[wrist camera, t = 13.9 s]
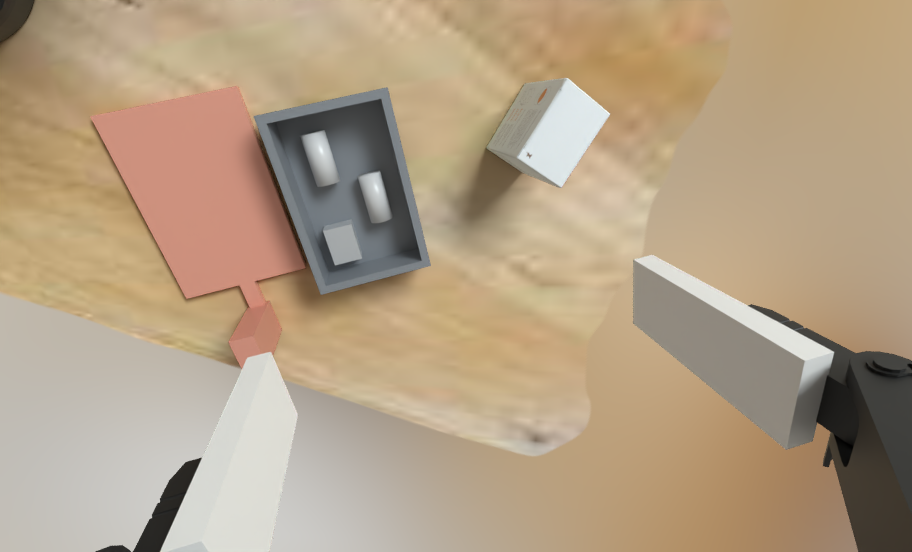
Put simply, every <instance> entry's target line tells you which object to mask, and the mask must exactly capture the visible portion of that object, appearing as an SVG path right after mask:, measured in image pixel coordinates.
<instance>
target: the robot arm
mask: <svg viewBox="0 0 912 552" xmlns="http://www.w3.org/2000/svg"><path fill="white" fill-rule="evenodd" d="M33 2H34V0H0V42H1V41H3V40H4V39H6V38H8V37H9V36H11V35H12V34H13V33H14V32H16V31H17V30H18V29H19V28H20V26H21V25H22V24H23V23H24V21H25V20H26V18H27V17H28V15H29V13H30V10H31V8H32V5H33ZM633 324H635V325H636V326H637V327H638V328H640V329H641V330H642V331H643V332H644V333H645V334H647V335H648V336H649V337H650V338H652V339H653V340H654V341H655V342H656V343H658V344H659V345H660V346H661V347H662V348H664V349H665V350H666V351H667V352H669V353H670V354H671V355H672V356H673V357H675V358H676V359H677V360H678V361H679V362H681V363H682V364H683V365H684V366H685V367H687V368H688V369H689V370H690V371H692V372H693V373H694V374H695V375H696V376H698V377H699V378H700V379H701V380H702V381H704V382H705V383H706V384H707V385H708V386H710V387H711V388H712V389H713V390H714V391H716V392H717V393H718V394H719V395H721V396H722V397H723V398H724V399H725V400H727V401H728V402H729V403H730V404H732V405H733V406H734V407H735V408H736V409H738V410H739V411H740V412H741V413H742V414H744V415H745V416H746V417H747V418H748V419H750V420H751V421H752V422H753V423H754V424H756V425H757V426H758V427H759V428H761V429H762V430H763V431H764V432H765V433H767V434H768V435H769V436H770V437H772V438H773V439H774V440H775V441H776V442H777V443H779V444H780V445H781V446H782V447H784V448H785V449H786V450H787V449H790V448H793V447H796V446H799V445H802V444H805V443H808V442H812V441H813V438H814V433H815V429H816V425H817V422H818V423H819V424H821V425H822V426H823V427H825V428H826V429H827V430H829V431H830V432H831V433H830V437H829V441H828V445H827V449H826V452H825V456H824V460H823V466H825V467H829V465H830V461H831V460H832V459H833V461H834V465H835V468H836V472H837V475H838V479H839V483H840V486H841V490H842V494H843V497H844V501H845V504H846V508H847V512H848V515H849V519H850V523H851V526H852V530H853V533H854V537H855V541H856V544H857V548H858V552H912V361H911V360H909V359H906V358H903V357H900V356H897V355H894V354H889V353H883V352H871V351H866V352H861V353H854V352H852V351H850V350H848V349H847V348H845V347H843V346H841V345H839V344H837V343H835V342H833V341H831V340H829V339H827V338H825V337H823V336H821V335H819V334H817V333H815V332H813V331H811V330H809V329H807V328H805V329H804V328H803V326H801V325H800V324H798V323H796V322H794V321H790V320H789V319H788V318H786V317H784V316H782V315H780V314H778V313H776V312H774V311H773V310H769V309H766V308H762V307H759V306H755V305H752V304H751V305H748V306H747V305H745V304H743V303H742V302H739V301H738V300H736V299H734V298H732V297H730V296H728V295H726V294H725V293H723V292H721V291H719V290H717V289H715V288H713V287H712V286H710V285H708V284H706V283H704V282H702V281H700V280H698V279H697V278H695V277H693V276H691V275H689V274H687V273H685V272H683V271H681V270H680V269H678V268H676V267H674V266H672V265H670V264H668V263H667V262H665V261H663V260H661V259H659V258H657V257H655V256H653V255H651V256H646V257H642V258H638V259H634V260H633ZM297 417H298V414H297V412H296V409H295V407H294V404H293V402H292V400H291V397H290V395H289V393H288V391H287V388H286V386H285V383H284V381H283V379H282V376H281V374H280V372H279V369H278V367H277V365H276V362H275V360H274V358H273V355H272V353H271V352H267V353H264V354H260V355H256V356H252V357H248V358H247V359H246V362H245V364H244V366H243V368H242V371H241V373H240V375H239V377H238V379H237V382H236V384H235V386H234V388H233V391H232V393H231V395H230V397H229V399H228V402H227V404H226V406H225V408H224V411H223V413H222V415H221V417H220V419H219V422H218V424H217V426H216V428H215V430H214V433H213V435H212V437H211V439H210V442H209V444H208V446H207V448H206V450H205V453H204V455H203V457H202V458H199V459H196V460H192V461H188V462H186V463H185V464H184V465H183V466H182V467H181V468H180V469H179V470H178V472H177V473H176V474H175V475H174V476H173V477H172V478H171V479H170V480H169V482H168V484H167V486H166V488H165V490H164V492H163V494H162V496H161V498H160V503H158V504H157V506H156V508H155V510H154V512H153V514H152V518H151V519H150V520H149V522H148V523H147V525H146V527H145V529H144V531H143V533H142V535H141V537H140V539H139V541H138V543H137V545H136V547H135V549H134V551H133V552H270V547H271V542H272V537H273V532H274V527H275V523H276V518H277V513H278V508H279V503H280V499H281V494H282V489H283V484H284V480H285V475H286V469H287V465H288V460H289V455H290V450H291V446H292V441H293V436H294V431H295V426H296V421H297ZM96 552H131V551H130V550H129V549H127V548H126V547H124V546H123V545H119V546H109V547H107V548H104V549H101V550H99V551H96Z"/></svg>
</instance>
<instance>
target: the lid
mask: <svg viewBox="0 0 912 552" xmlns="http://www.w3.org/2000/svg"><path fill="white" fill-rule="evenodd" d="M90 117H91V119H92V121H93V123H94V125H95V127H96V128H97V130H98V132H99V134H100V136H101V138H102V140H103V142H104V144H105V146H106V147H107V149H108V151H109V153H110V155H111V157H112V159H113V161H114V163H115V164H116V166H117V168H118V170H119V172H120V174H121V176H122V178H123V180H124V181H125V183H126V185H127V187H128V189H129V191H130V193H131V195H132V197H133V199H134V200H135V202H136V204H137V206H138V208H139V210H140V212H141V214H142V216H143V217H144V219H145V221H146V223H147V225H148V227H149V229H150V231H151V233H152V235H153V236H154V238H155V240H156V242H157V244H158V246H159V248H160V250H161V252H162V253H163V255H164V257H165V259H166V261H167V263H168V265H169V267H170V269H171V271H172V272H173V274H174V276H175V278H176V280H177V282H178V284H179V286H180V288H181V289H182V291H183V293H184V295H185V297H186V299H188V298H192V297H195V296H199V295H203V294H207V293H211V292H215V291H219V290H223V289H227V288H231V287H234V286H238V285H240V287H241V290H242V292H243V294H244V296H245V298H246V300H247V303H248V305H249V306H248V308H247V310H246V312H245V313H244V315H243V317H242V319H241V320H240V322H239V324H238V326H237V328H236V329H235V331H234V333H233V335H232V337H231V338H230V340H229V342H228V343H229V345H230V347H231V349H232V351H233V353H234V355H235V357H236V359H237V361H238V363H239V365H240V367H241V369H242V368H243V366H244V364H245V362H246V359H247V358H248V357H252V356H256V355H260V354H264V353H267V352H271V353H272V355H273V354H274V351H275V348H276V345H277V343H278V340H279V337H280V334H281V331H282V329H281V326H280V324H279V322H278V319H277V317H276V315H275V313H274V310H273V308H272V306H271V303H270V301H267V302H266V301H265V299H264V296H263V294H262V292H261V289H260V287H259V285H258V283H257V281H258V280H262V279H266V278H269V277H273V276H277V275H281V274H285V273H289V272H293V271H297V270H301V269H305V268H306V264H305V261H304V258H303V256H302V253H301V250H300V248H299V245H298V243H297V240H296V237H295V235H294V232H293V229H292V227H291V224H290V221H289V219H288V216H287V213H286V211H285V208H284V206H283V203H282V200H281V198H280V195H279V192H278V190H277V187H276V184H275V182H274V179H273V177H272V174H271V171H270V169H269V166H268V163H267V161H266V158H265V155H264V153H263V150H262V148H261V145H260V142H259V140H258V137H257V134H256V132H255V129H254V126H253V124H252V121H251V119H250V116H249V113H248V111H247V108H246V105H245V103H244V100H243V98H242V95H241V92H240V90H239V87H238V86H235V87H230V88H225V89H220V90H215V91H211V92H206V93H201V94H196V95H191V96H187V97H182V98H177V99H172V100H167V101H162V102H158V103H153V104H148V105H143V106H138V107H133V108H129V109H124V110H119V111H114V112H109V113H105V114H100V115H95V116H90Z"/></svg>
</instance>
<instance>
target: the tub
mask: <svg viewBox="0 0 912 552" xmlns="http://www.w3.org/2000/svg"><path fill="white" fill-rule="evenodd" d="M254 118H255V121H256V124H257V126H258V129H259V132H260V134H261V137H262V140H263V142H264V145H265V148H266V150H267V153H268V156H269V158H270V161H271V164H272V166H273V169H274V172H275V174H276V177H277V180H278V182H279V185H280V188H281V190H282V193H283V196H284V198H285V201H286V203H287V206H288V209H289V211H290V214H291V217H292V219H293V222H294V225H295V227H296V230H297V233H298V235H299V238H300V241H301V243H302V246H303V249H304V251H305V254H306V257H307V259H308V262H309V265H310V267H311V270H312V273H313V275H314V278H315V281H316V283H317V286H318V289H319V291H320V294H321V295H322V294H326V293H330V292H333V291H337V290H341V289H345V288H349V287H352V286H356V285H360V284H364V283H367V282H371V281H375V280H379V279H383V278H386V277H390V276H394V275H398V274H401V273H405V272H409V271H413V270H417V269H420V268H424V267H428V266H431V264H430V260H429V256H428V252H427V248H426V244H425V240H424V236H423V231H422V227H421V223H420V219H419V215H418V211H417V207H416V203H415V199H414V194H413V190H412V186H411V182H410V178H409V174H408V170H407V166H406V161H405V157H404V153H403V149H402V145H401V141H400V137H399V133H398V129H397V124H396V120H395V116H394V112H393V108H392V104H391V100H390V96H389V91H388V87H387V88H382V89H378V90H373V91H368V92H364V93H359V94H354V95H350V96H345V97H340V98H336V99H331V100H327V101H322V102H317V103H313V104H308V105H303V106H299V107H294V108H290V109H285V110H280V111H276V112H271V113H266V114H262V115H257V116H254Z"/></svg>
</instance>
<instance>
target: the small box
mask: <svg viewBox="0 0 912 552" xmlns="http://www.w3.org/2000/svg"><path fill="white" fill-rule="evenodd" d="M609 116H610V113H609V112H607V111H606V110H605V109H604V108H603V107H601V106H600V105H599V104H598V103H597V102H596V101H594V100H593V99H592V98H591V97H590V96H588V95H587V94H586V93H585V92H584V91H582V90H581V89H580V88H579V87H578V86H576V85H575V84H574V83H573V82H572V81H570V80H569V79H568V78H562V79H554V80H547V81H540V82H532V83H525V84H524V85H523V87H522V89H521V91H520V92H519V94H518V96H517V97H516V99H515V101H514V102H513V104H512V106H511V107H510V109H509V111H508V112H507V114H506V116H505V117H504V119H503V121H502V122H501V124H500V125H499V127H498V129H497V131H496V132H495V134H494V136H493V137H492V139H491V141H490V142H489V144H488V145H487V147H486V148H487V149H488V150H490V151H491V152H493V153H494V154H496V155H497V156H498V157H500V158H501V159H503V160H504V161H506V162H507V163H509V164H510V165H512V166H513V167H515V168H516V169H518V170H519V171H521V172H522V173H524V174H527V175H529V176H531V177H534V178H537V179H539V180H541V181H544V182H547V183H549V184H551V185H554V186H556V187H559V188H562V187H563V185H564V184H565V182H566V181H567V179H568V178H569V176H570V175H571V173H572V172H573V170H574V168H575V167H576V165H577V164H578V162H579V161H580V159H581V158H582V156H583V155H584V153H585V152H586V150H587V149H588V147H589V146H590V144H591V143H592V141H593V140H594V138H595V137H596V135H597V134H598V132H599V131H600V129H601V128H602V126H603V125H604V123H605V122H606V120H607V118H608V117H609Z"/></svg>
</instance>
